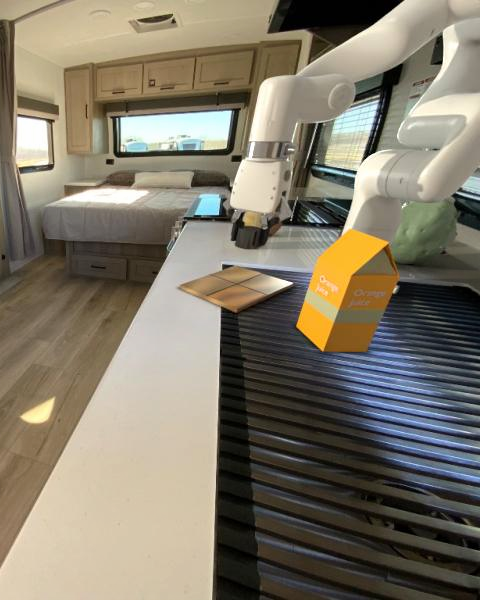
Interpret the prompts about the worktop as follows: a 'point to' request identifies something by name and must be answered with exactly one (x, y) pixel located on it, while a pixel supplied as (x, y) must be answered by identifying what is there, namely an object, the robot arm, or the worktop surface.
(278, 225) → the onion
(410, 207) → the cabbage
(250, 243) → the black ridged cylinder
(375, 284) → the orange juice
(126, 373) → the worktop surface
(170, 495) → the worktop surface
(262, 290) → the grid board
